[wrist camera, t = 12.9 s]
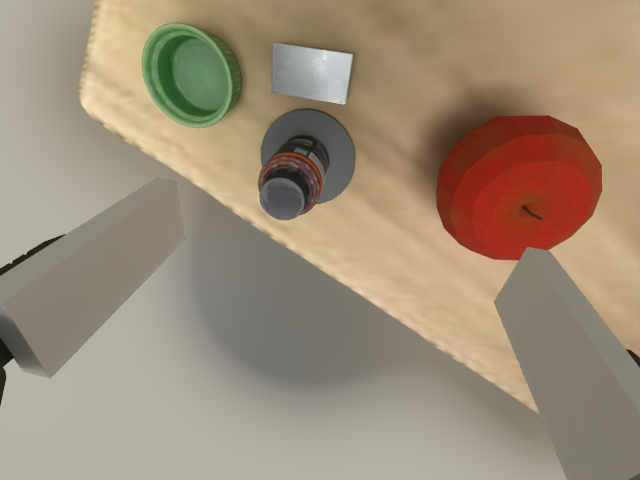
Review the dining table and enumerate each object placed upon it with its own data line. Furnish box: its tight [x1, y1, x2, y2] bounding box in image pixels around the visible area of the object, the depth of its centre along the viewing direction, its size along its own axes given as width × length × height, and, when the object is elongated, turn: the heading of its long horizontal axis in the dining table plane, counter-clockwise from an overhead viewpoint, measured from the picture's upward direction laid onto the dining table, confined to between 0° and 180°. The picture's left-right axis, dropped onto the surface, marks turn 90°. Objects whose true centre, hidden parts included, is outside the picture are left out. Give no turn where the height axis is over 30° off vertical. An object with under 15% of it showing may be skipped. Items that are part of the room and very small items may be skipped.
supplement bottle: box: [258, 135, 330, 220], centre depth 31 cm, size 6×6×11 cm
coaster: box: [261, 109, 355, 204], centre depth 36 cm, size 11×11×1 cm
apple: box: [436, 116, 602, 260], centre depth 28 cm, size 12×12×14 cm
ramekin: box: [142, 23, 241, 128], centre depth 32 cm, size 9×9×4 cm
